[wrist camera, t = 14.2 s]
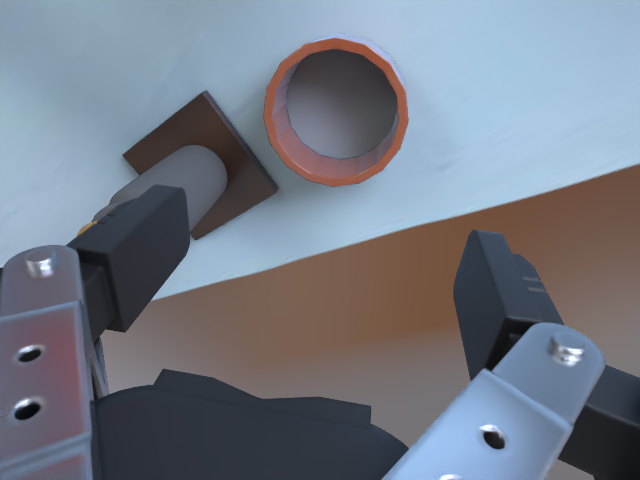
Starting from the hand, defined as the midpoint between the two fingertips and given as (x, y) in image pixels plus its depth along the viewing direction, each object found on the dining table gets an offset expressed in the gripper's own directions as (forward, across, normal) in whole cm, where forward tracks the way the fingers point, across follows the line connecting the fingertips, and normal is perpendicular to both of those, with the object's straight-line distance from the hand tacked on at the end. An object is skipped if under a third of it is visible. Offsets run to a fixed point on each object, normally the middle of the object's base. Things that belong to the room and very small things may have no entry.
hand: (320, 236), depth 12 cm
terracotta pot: (+27, +2, +3) cm, 27 cm away
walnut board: (+27, +15, +10) cm, 32 cm away
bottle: (+26, +15, +10) cm, 32 cm away
